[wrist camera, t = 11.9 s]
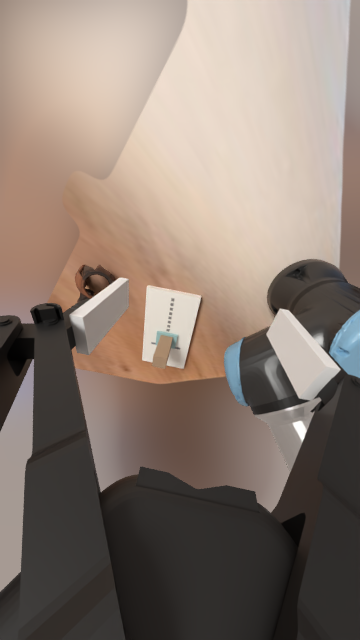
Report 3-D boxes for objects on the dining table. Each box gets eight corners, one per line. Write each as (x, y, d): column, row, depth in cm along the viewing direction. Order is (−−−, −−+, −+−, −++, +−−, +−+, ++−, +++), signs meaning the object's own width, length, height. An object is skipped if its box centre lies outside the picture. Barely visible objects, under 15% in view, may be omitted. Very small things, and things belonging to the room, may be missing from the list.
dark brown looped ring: (84, 252, 44) (83, 260, 38) (119, 269, 49) (124, 279, 43) (66, 292, 47) (63, 306, 41) (102, 304, 53) (104, 318, 46)
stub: (177, 334, 50) (172, 357, 42) (175, 347, 53) (169, 371, 45) (157, 330, 51) (148, 352, 42) (155, 343, 53) (147, 367, 45)
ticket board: (201, 295, 45) (200, 298, 44) (183, 365, 59) (183, 369, 58) (148, 285, 46) (146, 287, 44) (143, 357, 59) (142, 360, 58)
